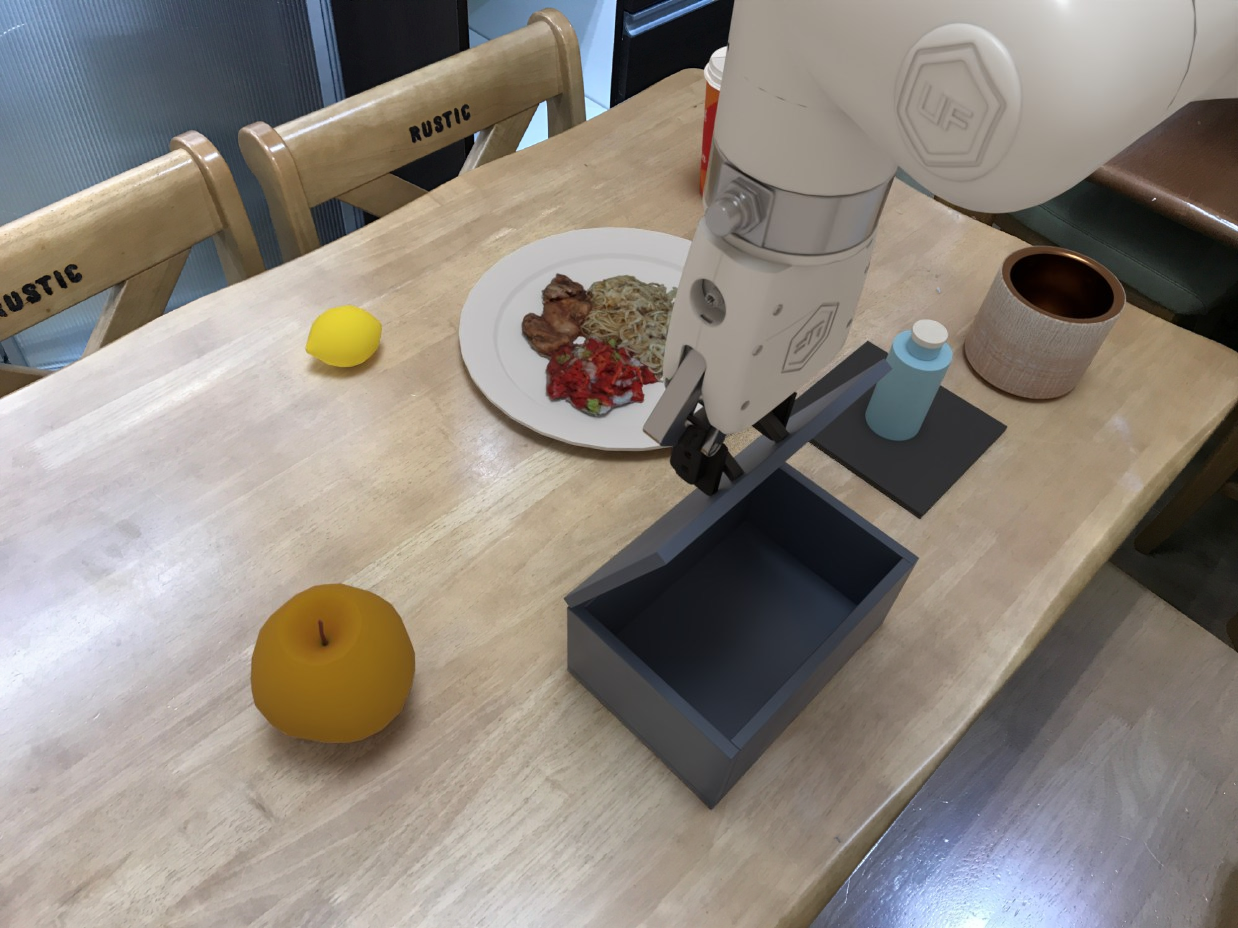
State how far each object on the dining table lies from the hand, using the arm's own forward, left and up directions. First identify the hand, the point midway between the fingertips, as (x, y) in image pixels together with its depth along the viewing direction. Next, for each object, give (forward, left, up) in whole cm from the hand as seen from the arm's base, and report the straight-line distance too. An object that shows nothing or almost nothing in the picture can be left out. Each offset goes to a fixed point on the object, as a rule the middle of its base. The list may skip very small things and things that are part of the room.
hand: (727, 449), depth 51 cm
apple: (+11, +22, -19) cm, 31 cm away
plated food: (+24, -17, -19) cm, 35 cm away
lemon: (+39, +3, -19) cm, 44 cm away
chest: (-4, 0, -19) cm, 19 cm away
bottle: (0, -27, -18) cm, 33 cm away
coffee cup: (+33, -43, -19) cm, 58 cm away
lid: (-1, 0, -4) cm, 4 cm away
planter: (-4, -43, -19) cm, 47 cm away
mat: (0, -27, -19) cm, 33 cm away
